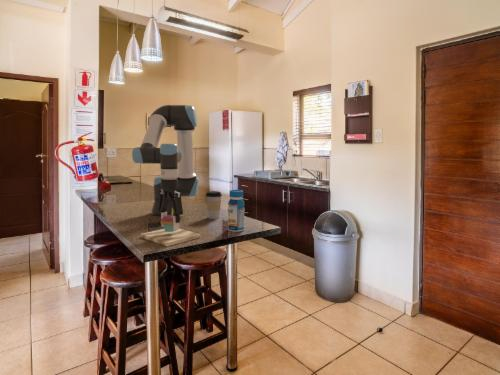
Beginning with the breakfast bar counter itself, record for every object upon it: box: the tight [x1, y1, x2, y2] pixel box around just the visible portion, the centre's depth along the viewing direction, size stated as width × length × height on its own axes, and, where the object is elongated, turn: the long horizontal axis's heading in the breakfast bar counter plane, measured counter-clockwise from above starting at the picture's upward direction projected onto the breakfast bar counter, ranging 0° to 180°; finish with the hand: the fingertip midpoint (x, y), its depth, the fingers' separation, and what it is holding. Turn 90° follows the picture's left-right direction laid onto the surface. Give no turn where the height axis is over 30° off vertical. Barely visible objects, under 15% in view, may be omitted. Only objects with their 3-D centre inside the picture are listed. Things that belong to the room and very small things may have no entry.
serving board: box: [140, 227, 201, 247], centre depth 148 cm, size 20×18×2 cm
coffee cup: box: [205, 190, 223, 220], centre depth 188 cm, size 9×9×15 cm
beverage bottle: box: [227, 189, 246, 233], centre depth 161 cm, size 8×8×20 cm
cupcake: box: [160, 208, 176, 232], centre depth 147 cm, size 9×8×12 cm
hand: (170, 227), depth 148 cm, fingers closed on cupcake, 8 cm apart
